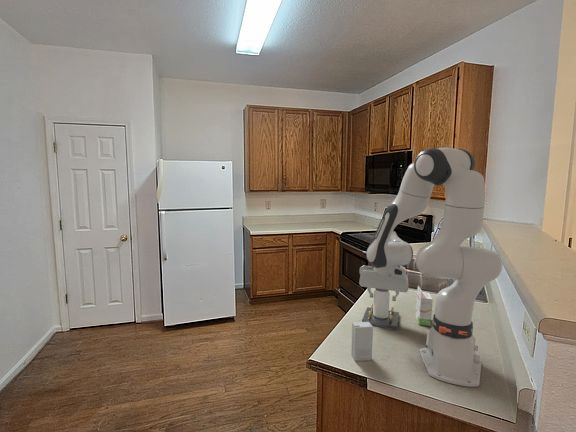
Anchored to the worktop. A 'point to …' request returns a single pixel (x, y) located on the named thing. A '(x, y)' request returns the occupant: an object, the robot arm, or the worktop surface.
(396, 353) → the worktop surface
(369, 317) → the plate
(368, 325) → the skincare box
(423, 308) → the ink box
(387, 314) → the can
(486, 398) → the worktop surface
